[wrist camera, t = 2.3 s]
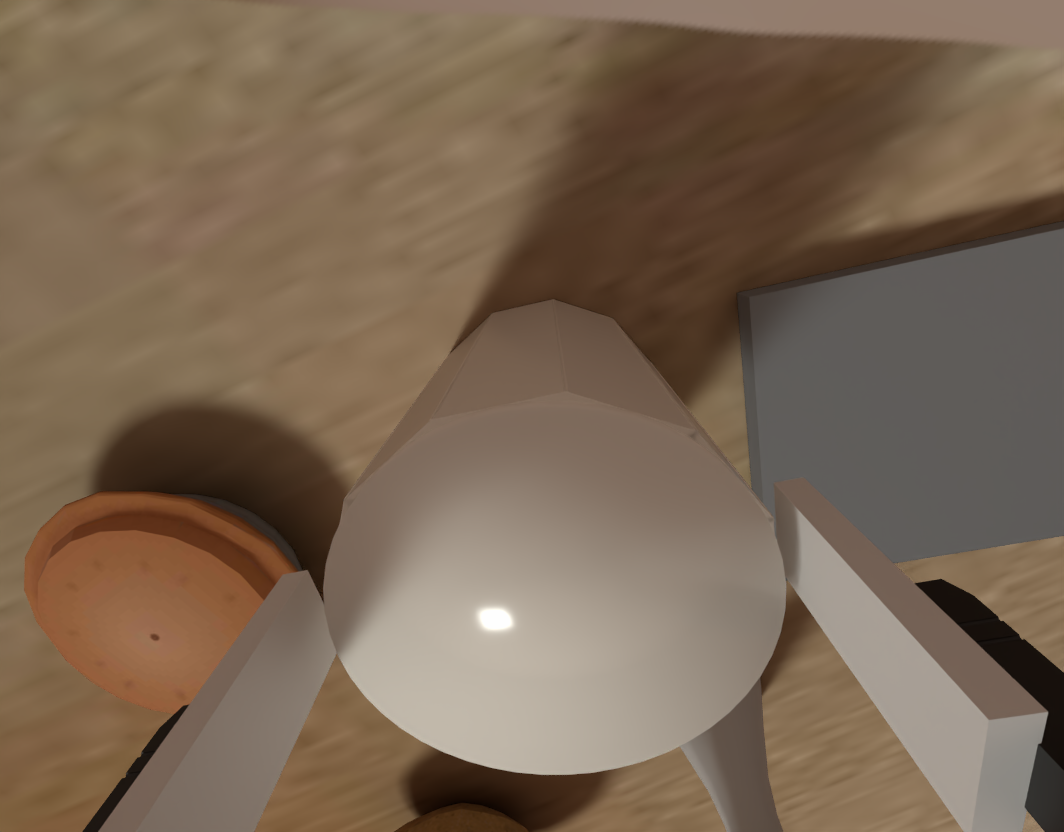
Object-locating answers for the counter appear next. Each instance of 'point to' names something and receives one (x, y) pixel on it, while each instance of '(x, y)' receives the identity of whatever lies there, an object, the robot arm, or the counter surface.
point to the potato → (463, 820)
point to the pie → (151, 588)
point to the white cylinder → (553, 557)
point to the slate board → (917, 393)
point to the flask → (737, 767)
